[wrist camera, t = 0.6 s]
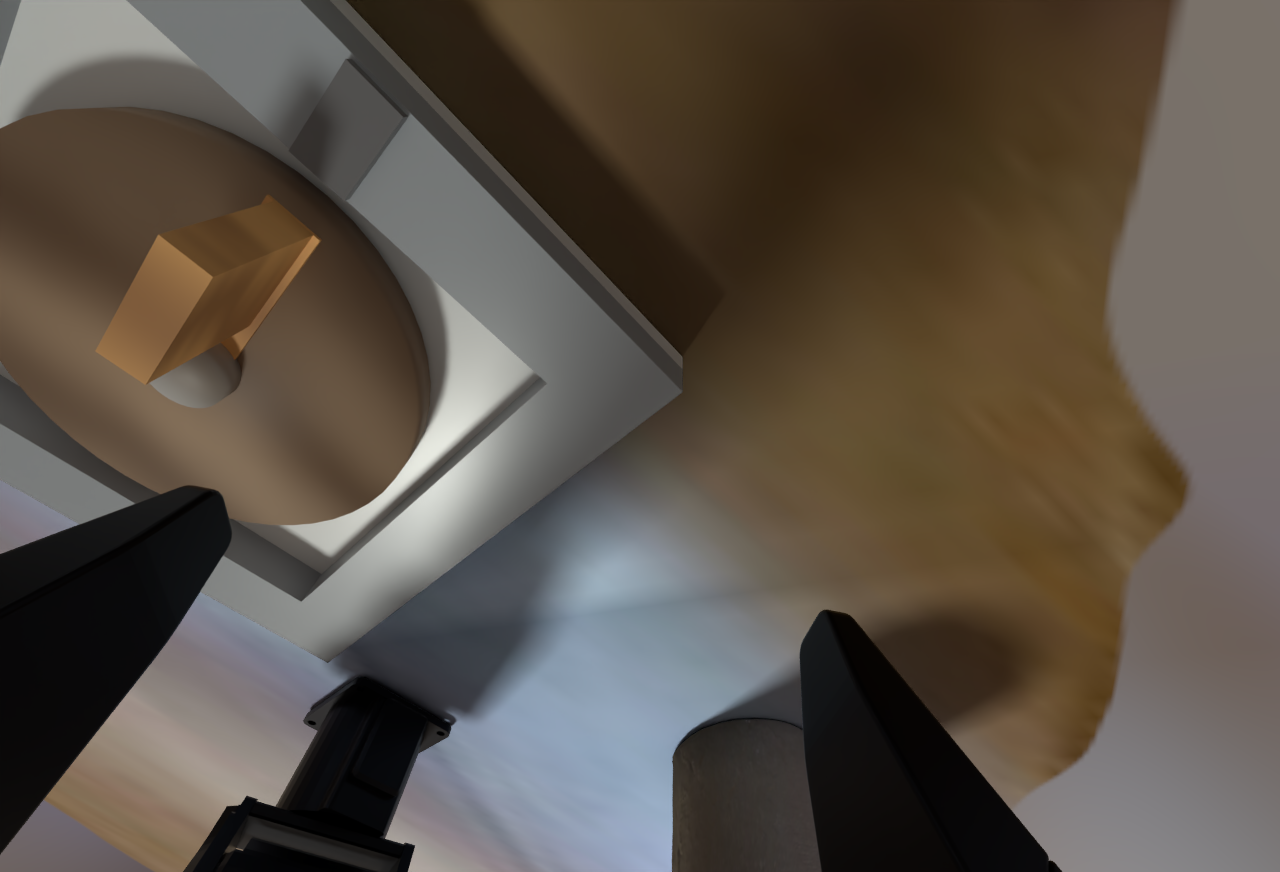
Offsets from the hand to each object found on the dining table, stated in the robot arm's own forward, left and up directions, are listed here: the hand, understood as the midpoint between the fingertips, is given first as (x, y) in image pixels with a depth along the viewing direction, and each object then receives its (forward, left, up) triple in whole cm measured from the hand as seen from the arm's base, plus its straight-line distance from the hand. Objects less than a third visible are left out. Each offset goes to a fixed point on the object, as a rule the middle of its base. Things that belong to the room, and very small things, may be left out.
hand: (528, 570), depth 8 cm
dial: (-11, +8, -11) cm, 17 cm away
